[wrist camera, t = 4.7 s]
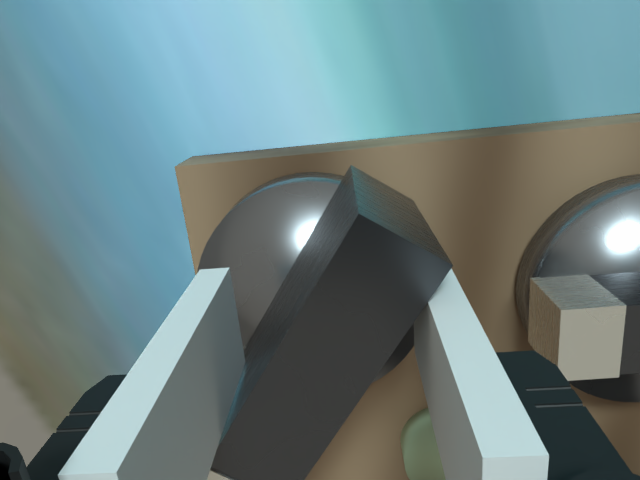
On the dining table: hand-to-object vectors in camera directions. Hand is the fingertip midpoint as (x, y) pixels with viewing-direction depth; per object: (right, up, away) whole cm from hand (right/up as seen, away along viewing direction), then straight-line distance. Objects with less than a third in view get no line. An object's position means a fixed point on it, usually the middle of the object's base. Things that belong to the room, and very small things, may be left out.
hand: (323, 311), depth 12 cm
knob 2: (+10, +1, +4) cm, 11 cm away
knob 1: (0, +1, +4) cm, 4 cm away
